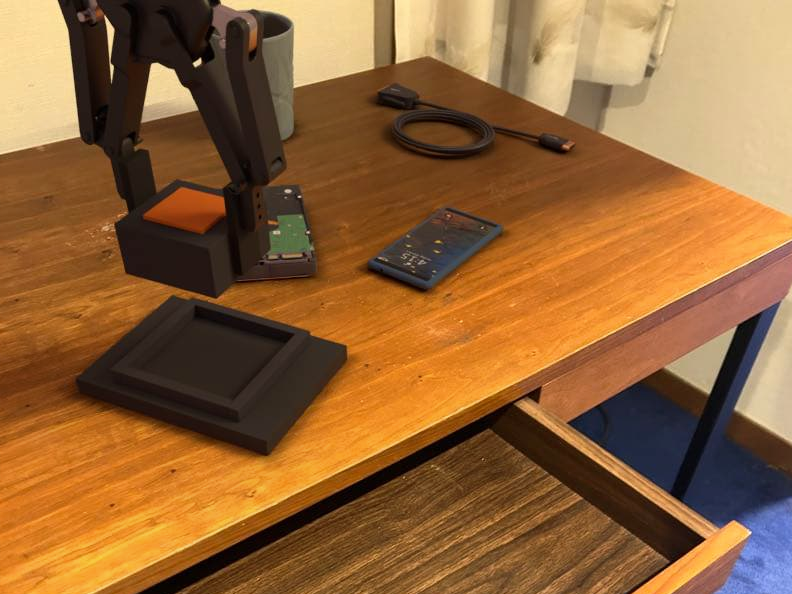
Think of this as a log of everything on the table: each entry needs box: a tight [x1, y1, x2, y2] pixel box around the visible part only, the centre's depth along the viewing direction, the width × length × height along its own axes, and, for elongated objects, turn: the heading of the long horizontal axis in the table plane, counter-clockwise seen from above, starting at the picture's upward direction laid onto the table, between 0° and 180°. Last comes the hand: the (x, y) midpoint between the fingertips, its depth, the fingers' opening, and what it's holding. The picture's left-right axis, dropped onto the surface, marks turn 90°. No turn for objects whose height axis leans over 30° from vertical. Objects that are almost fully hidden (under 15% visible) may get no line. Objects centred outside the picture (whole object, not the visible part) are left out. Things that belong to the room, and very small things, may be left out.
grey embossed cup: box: [212, 9, 295, 141], centre depth 103 cm, size 10×10×12 cm
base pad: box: [74, 294, 348, 456], centre depth 72 cm, size 18×14×3 cm
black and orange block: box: [113, 178, 271, 300], centre depth 64 cm, size 8×8×4 cm
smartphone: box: [367, 205, 504, 290], centre depth 88 cm, size 8×1×15 cm
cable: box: [376, 82, 576, 155], centre depth 107 cm, size 14×28×2 cm, turn 55°
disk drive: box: [219, 184, 318, 282], centre depth 88 cm, size 10×3×15 cm
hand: (198, 253), depth 65 cm, fingers closed on black and orange block, 8 cm apart
